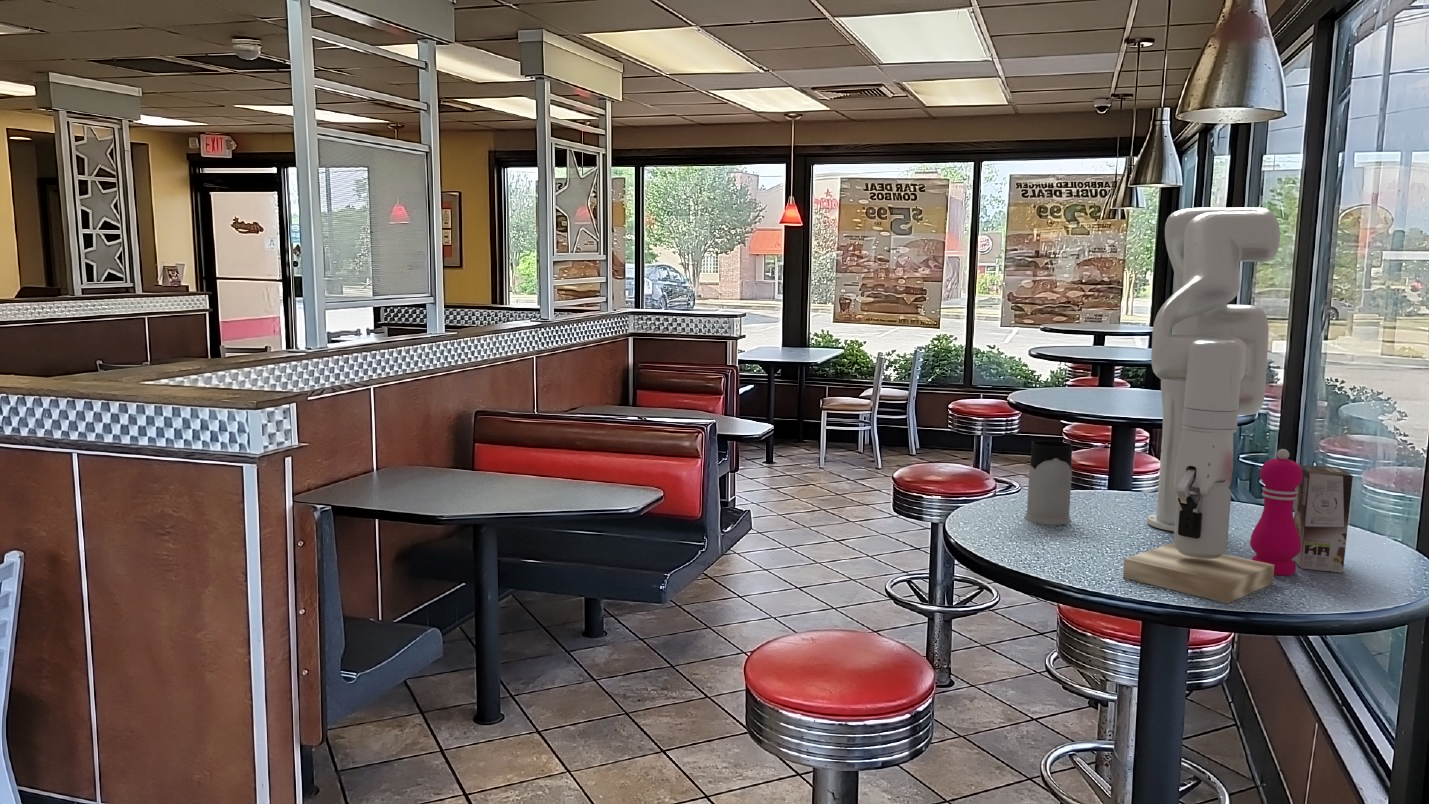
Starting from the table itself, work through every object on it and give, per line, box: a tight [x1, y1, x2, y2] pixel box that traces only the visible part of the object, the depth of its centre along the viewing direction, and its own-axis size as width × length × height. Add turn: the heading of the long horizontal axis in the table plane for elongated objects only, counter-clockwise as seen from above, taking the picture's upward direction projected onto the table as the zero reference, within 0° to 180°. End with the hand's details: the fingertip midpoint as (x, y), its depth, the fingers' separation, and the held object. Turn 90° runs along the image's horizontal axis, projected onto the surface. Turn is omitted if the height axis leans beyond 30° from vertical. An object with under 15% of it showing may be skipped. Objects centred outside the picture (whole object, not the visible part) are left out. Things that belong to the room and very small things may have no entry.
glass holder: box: [1024, 440, 1073, 526], centre depth 199 cm, size 9×14×15 cm, turn 174°
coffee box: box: [1292, 464, 1354, 574], centre depth 167 cm, size 9×6×16 cm
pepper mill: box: [1249, 448, 1303, 577], centre depth 163 cm, size 7×7×20 cm
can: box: [1173, 480, 1232, 559], centre depth 156 cm, size 8×8×12 cm
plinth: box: [1122, 542, 1275, 604], centre depth 157 cm, size 16×16×3 cm
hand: (1201, 532), depth 157 cm, fingers closed on can, 7 cm apart
